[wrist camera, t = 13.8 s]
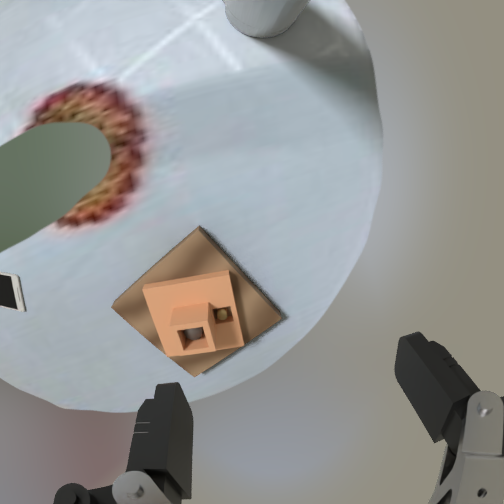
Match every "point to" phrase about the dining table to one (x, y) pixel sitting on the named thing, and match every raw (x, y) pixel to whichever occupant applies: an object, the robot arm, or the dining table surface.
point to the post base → (247, 302)
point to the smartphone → (11, 292)
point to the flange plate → (194, 313)
